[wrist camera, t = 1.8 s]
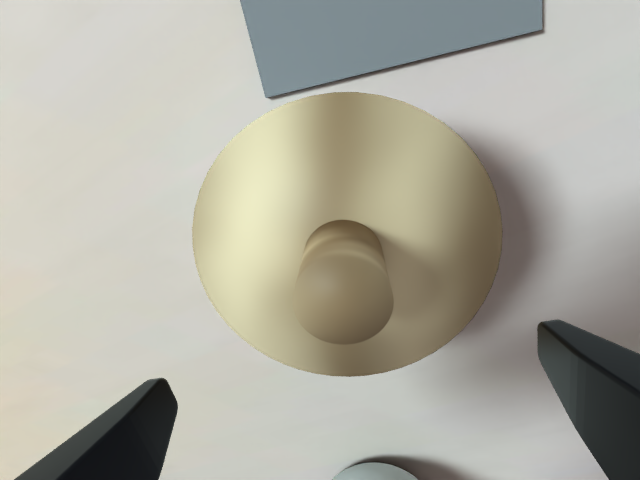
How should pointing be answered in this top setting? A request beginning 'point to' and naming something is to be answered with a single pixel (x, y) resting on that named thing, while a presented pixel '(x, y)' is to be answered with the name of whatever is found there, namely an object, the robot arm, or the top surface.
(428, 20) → the mat
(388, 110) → the lid
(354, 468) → the pump dispenser
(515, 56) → the top surface
